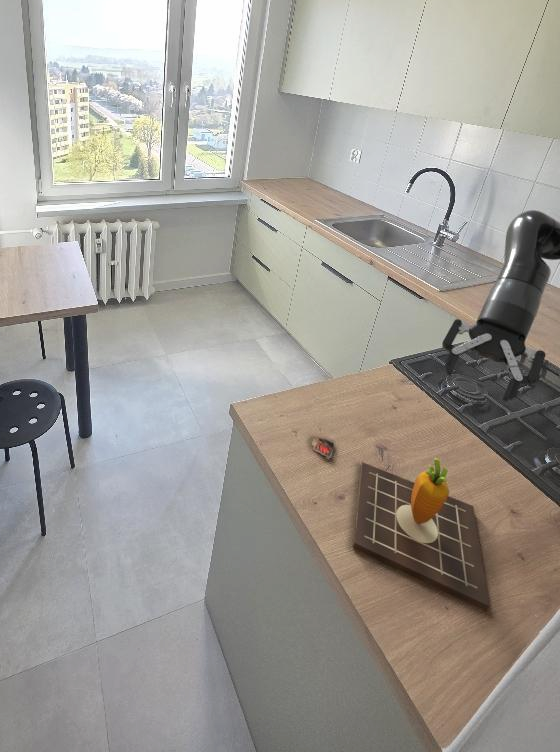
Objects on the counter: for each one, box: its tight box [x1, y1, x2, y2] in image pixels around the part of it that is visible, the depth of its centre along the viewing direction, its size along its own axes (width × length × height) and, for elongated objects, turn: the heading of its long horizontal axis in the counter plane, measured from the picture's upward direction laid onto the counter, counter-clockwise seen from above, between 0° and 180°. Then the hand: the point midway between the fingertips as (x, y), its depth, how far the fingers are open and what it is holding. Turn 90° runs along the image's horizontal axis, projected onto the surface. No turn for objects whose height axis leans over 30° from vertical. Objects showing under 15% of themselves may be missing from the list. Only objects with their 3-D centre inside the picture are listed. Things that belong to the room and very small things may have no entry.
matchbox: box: [311, 437, 335, 461], centre depth 92 cm, size 5×5×1 cm
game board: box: [352, 461, 491, 612], centre depth 77 cm, size 20×18×2 cm
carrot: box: [411, 457, 450, 524], centre depth 74 cm, size 5×5×15 cm
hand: (475, 387), depth 74 cm, fingers open, 8 cm apart
